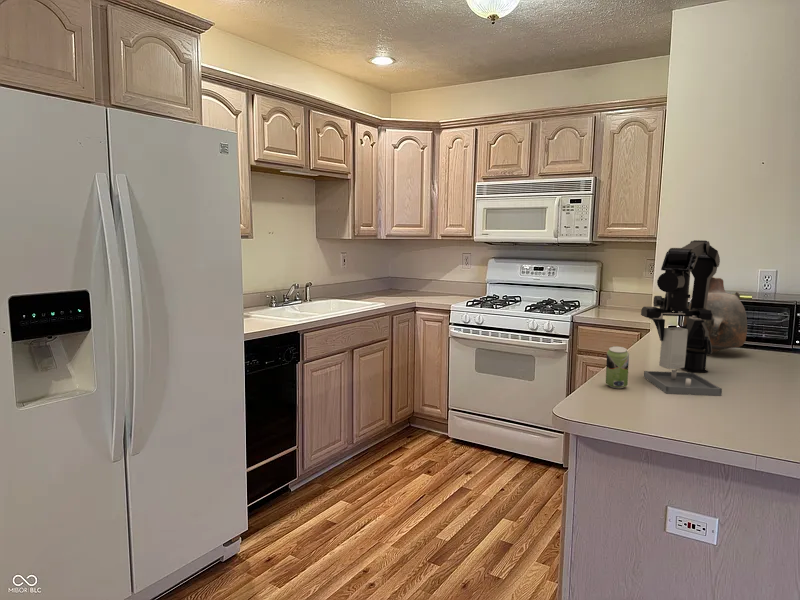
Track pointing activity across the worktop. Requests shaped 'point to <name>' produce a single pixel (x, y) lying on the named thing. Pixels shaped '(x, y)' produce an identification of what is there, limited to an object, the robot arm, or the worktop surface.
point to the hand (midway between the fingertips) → (674, 341)
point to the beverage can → (617, 367)
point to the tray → (682, 383)
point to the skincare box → (673, 348)
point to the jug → (724, 317)
